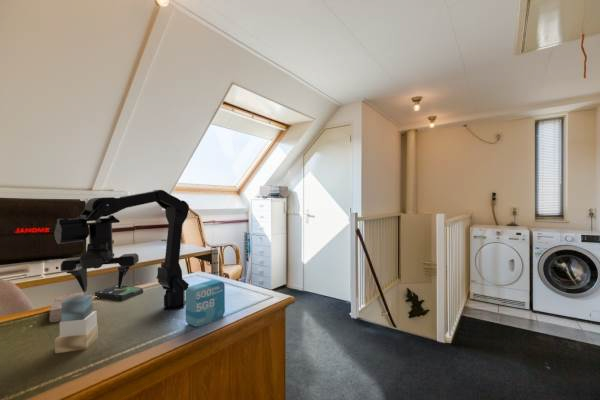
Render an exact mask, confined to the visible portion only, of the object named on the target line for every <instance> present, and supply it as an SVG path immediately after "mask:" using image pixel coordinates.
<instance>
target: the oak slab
mask: <svg viewBox="0 0 600 400" xmlns="http://www.w3.org/2000/svg"><path fill="white" fill-rule="evenodd" d="M98 337H99V324H98V323H97V325H96V326H95V327H94V328H93V329H92V330H91V331H89V332H88V333H87V334H86V335H77V336H68V337H60V334H59V335H58V336H57V337H56V338H54V353H55V354H59V353H68V352H73V351H74V352H76V351H83V350H88V349H89V347H91V345H93V342H95V341H96V339H97V338H98Z"/></svg>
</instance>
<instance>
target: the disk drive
mask: <svg viewBox="0 0 600 400" xmlns="http://www.w3.org/2000/svg"><path fill="white" fill-rule="evenodd" d="M141 294H144V289H143V287H139V286H127V285H122V287H121V288H120V289H119V287H118V284H117V285H113V286H111V287H108V288H105V289H103V290H98V291H95V292H94V297H95V296H97V297H99V298H98V299H102V298H104V300H111V301H112V300H114V301H121V302H123V301H126V300H129V299H131V298H133V297H134V298H135V297H136V296H139V295H141Z"/></svg>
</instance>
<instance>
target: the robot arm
mask: <svg viewBox="0 0 600 400" xmlns="http://www.w3.org/2000/svg"><path fill="white" fill-rule="evenodd" d="M150 203H156V204H157V205H158V206H159V207H161V208H163V209H164V211H165V217H166V220H167V223H168V226H167V227H168V229H167V236H166V247H165V257H164V262H163V264H162V266H161V267H160V266H159V267H157V276H156V278H155V279H156V280H157V282H158V284H159V285H160V286H161V287H162V289H163V290H165V293H164V294H163V307H164V308H163V309H164V310H165V311H166V310H177V309H184V308H185V306H186V289H187V288H188V287H189V285H190V284H189V283H188V282H187V281H186V280H184V279H183V270H182V268H181V265H180V254H181V253H180V252H181V245H182V235H183V225H184V223H185V222H186V220H187V218H188V215H189V211H190V206H189V204H188V202H187V201H185V200H181V199H179V197H176V196H174V195H172V194H170V193H168V192H167V191H165V190H164V189H154V190H152V191H148V192H147V191H146V192H142V193H136V194H130V195H123V196H117V197H116V196H115V197H114V196H113V197H111V196H109V197H93V198H90V199H88V201H87V202H86V203H85V205H84V206H85V208H84V210H83V211H82V212H81V213H80V214H79V216H77V218H58V219H56V224H55V228H54V233H53V234H54V239H55V241H56V244H57V245H61V244H67V243H76V242H77V243H78V242H83V241H85V239H87V238H88V239H89V240H88V243H87V245H86V251H84V253H82V255H81V256H77V257H70V258H67V259H65V260H63V261H62V262H61V263H60V271H61V272H66V274H70V275H72V276H74V278H75V279H76V281H77V282H78V285H79V287H80V288H81V290H82V293H86V292H87V290H88V269H100V268H101V267H102V266H103V265H114V264H118V265H119V267H117V270H118V279H117V280H118V283H117V285H118V287H119V289H120V288H121V287H122V286H123V283H124V282H125V278H126V276H127V273H128V272H129V270H130V268H132V267H133V266H134V265H136V264H138V263H139V261H140V260H139V254H137V253H135V252H134V253H124V254H121V255H120V256H118V257H115V253H114V251H113V250H114V247H113V244H115V241H114V239H113V224H116V223H117V224H118V223H120V221H121V220H119V219H118V218H116V217H115V214H116V213H118V212H120V211H122V210H125V209H128V208H133V207H137V206H142V205H146V204H150Z"/></svg>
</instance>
